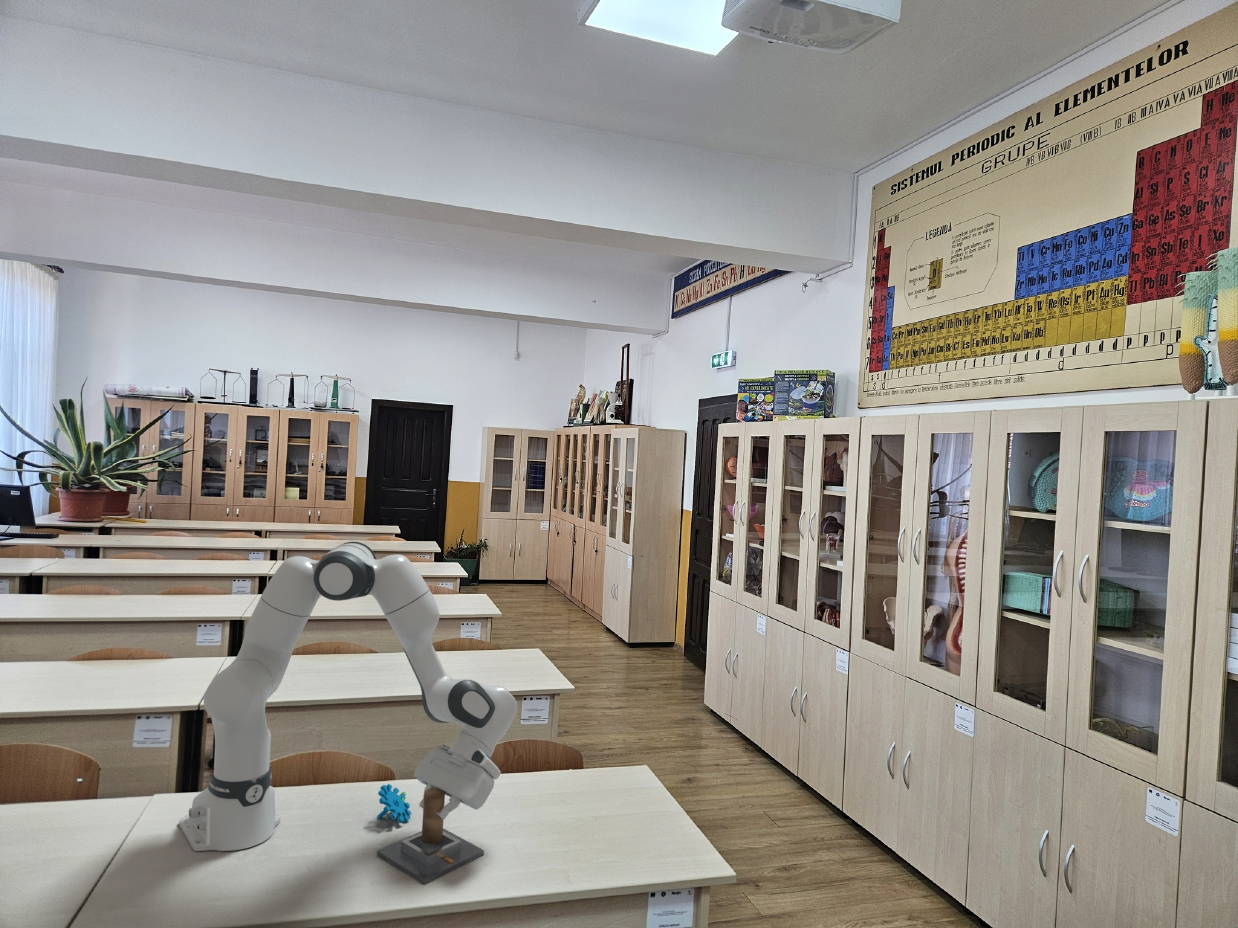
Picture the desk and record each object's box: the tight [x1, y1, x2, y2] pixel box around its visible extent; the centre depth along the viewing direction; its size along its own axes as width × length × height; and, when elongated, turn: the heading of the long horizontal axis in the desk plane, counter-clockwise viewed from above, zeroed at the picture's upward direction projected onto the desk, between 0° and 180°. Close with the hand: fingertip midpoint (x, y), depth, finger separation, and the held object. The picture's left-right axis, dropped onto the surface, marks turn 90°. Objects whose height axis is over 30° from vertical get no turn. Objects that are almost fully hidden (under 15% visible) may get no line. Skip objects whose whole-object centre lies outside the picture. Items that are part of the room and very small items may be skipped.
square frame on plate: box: [376, 827, 485, 885], centre depth 168 cm, size 16×16×3 cm
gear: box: [377, 783, 412, 824], centre depth 184 cm, size 11×6×10 cm
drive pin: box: [421, 788, 446, 844], centre depth 168 cm, size 4×4×10 cm
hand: (431, 812), depth 168 cm, fingers closed on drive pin, 4 cm apart
